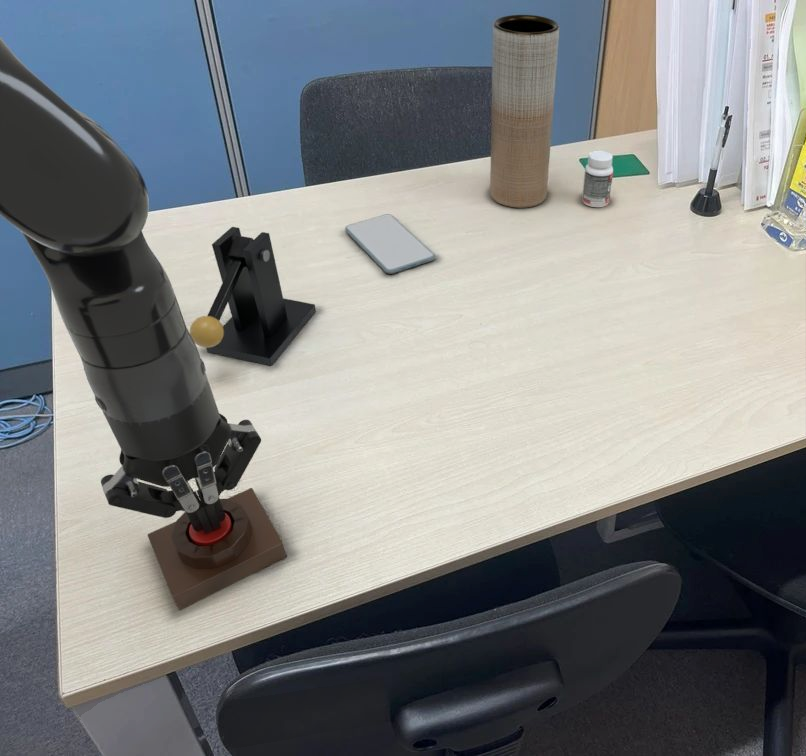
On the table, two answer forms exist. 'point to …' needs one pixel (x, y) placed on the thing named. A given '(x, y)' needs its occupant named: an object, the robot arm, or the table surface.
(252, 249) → the latch bracket
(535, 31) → the vase
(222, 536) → the release button
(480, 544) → the table surface
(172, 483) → the robot arm
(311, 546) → the table surface
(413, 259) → the smartphone
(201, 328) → the latch lever
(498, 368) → the table surface
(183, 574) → the block
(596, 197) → the pill bottle
